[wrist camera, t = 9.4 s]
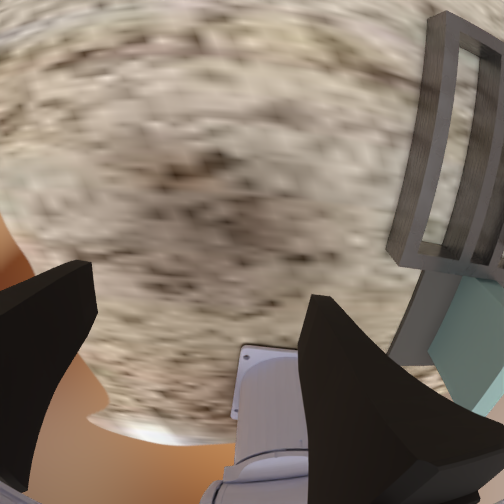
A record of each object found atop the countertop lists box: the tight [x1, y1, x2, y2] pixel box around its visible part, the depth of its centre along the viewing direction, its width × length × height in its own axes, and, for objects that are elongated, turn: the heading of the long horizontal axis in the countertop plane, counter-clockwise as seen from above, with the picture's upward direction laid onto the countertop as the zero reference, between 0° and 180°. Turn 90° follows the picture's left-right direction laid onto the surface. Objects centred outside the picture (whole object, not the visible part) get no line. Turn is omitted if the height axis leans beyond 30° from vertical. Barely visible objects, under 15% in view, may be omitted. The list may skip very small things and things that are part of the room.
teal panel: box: [428, 276, 504, 417], centre depth 18 cm, size 8×2×8 cm, turn 172°
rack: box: [386, 10, 504, 282], centre depth 16 cm, size 16×13×2 cm
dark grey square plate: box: [387, 270, 504, 366], centre depth 22 cm, size 10×10×1 cm
